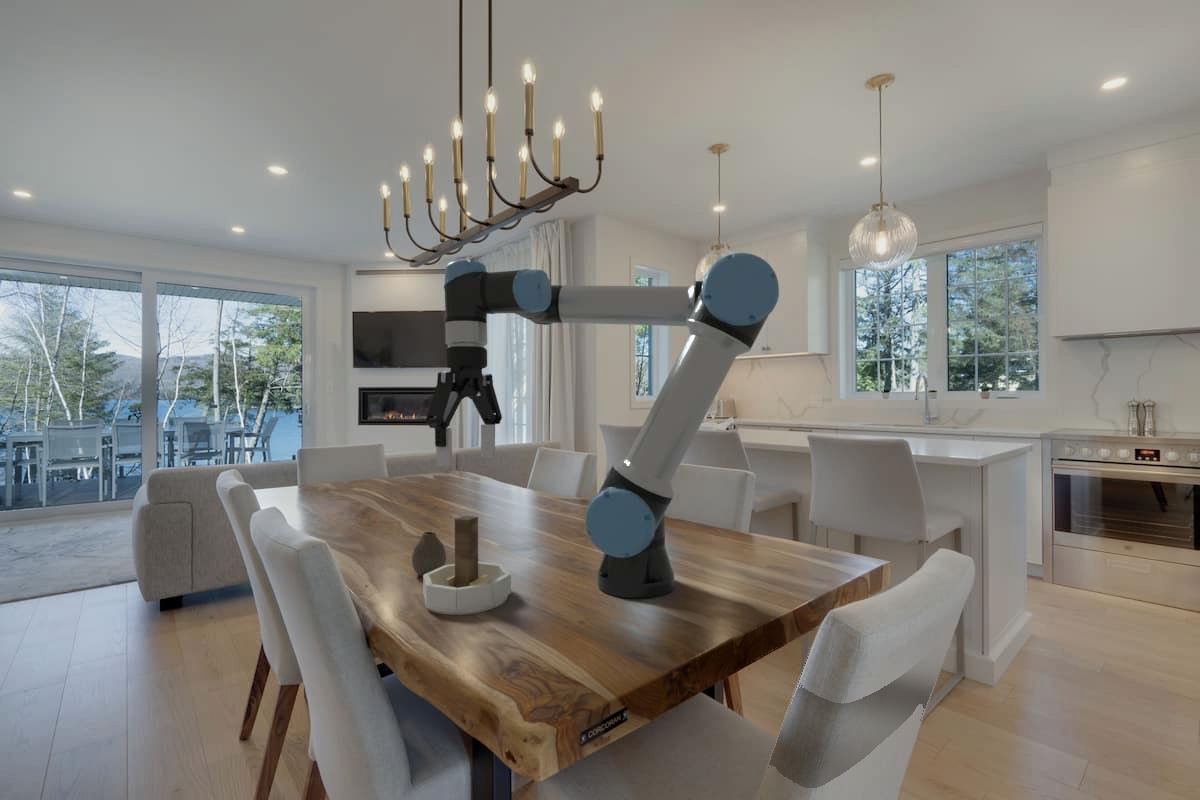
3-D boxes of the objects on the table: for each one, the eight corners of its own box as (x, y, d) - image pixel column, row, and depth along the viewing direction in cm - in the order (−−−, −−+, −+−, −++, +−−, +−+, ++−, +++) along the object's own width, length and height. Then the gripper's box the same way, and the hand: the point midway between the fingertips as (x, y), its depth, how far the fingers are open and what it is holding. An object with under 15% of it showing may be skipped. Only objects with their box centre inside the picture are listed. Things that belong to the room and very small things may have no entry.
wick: (464, 589, 102) (464, 515, 102) (478, 591, 100) (477, 516, 100) (455, 595, 99) (454, 518, 99) (468, 597, 98) (468, 520, 98)
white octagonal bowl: (522, 590, 104) (522, 567, 104) (478, 620, 90) (478, 593, 90) (458, 581, 109) (458, 559, 109) (406, 607, 95) (406, 582, 95)
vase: (435, 580, 110) (435, 537, 110) (405, 578, 111) (405, 536, 111) (451, 570, 116) (451, 529, 116) (422, 568, 118) (422, 528, 118)
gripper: (486, 353, 113) (488, 454, 112) (402, 341, 89) (404, 468, 89) (518, 351, 110) (519, 455, 110) (439, 338, 87) (441, 470, 87)
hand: (467, 461), depth 100 cm, fingers open, 13 cm apart
